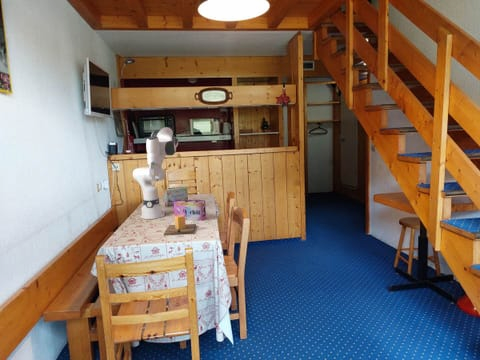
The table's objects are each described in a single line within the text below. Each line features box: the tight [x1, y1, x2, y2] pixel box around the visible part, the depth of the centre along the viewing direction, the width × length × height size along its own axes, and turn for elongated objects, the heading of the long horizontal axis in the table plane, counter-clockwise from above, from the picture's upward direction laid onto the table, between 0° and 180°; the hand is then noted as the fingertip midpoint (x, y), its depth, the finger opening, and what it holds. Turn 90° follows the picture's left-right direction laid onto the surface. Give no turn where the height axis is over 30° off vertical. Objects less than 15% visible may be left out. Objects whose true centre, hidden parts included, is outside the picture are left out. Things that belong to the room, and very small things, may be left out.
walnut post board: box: [163, 223, 197, 236], centre depth 208 cm, size 18×18×7 cm
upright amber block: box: [174, 215, 186, 229], centre depth 207 cm, size 5×5×8 cm
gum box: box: [173, 199, 207, 221], centre depth 237 cm, size 24×8×14 cm, turn 70°
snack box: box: [163, 186, 189, 208], centre depth 292 cm, size 21×6×15 cm, turn 131°
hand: (156, 181), depth 215 cm, fingers open, 8 cm apart
